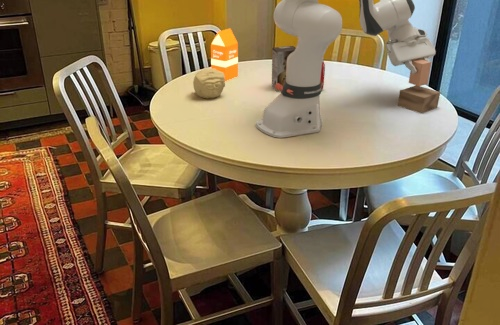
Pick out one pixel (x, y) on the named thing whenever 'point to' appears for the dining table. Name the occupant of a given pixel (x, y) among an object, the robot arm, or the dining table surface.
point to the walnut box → (418, 99)
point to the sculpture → (209, 83)
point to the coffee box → (280, 64)
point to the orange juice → (225, 54)
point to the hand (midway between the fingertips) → (421, 71)
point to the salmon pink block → (420, 72)
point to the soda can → (322, 74)
